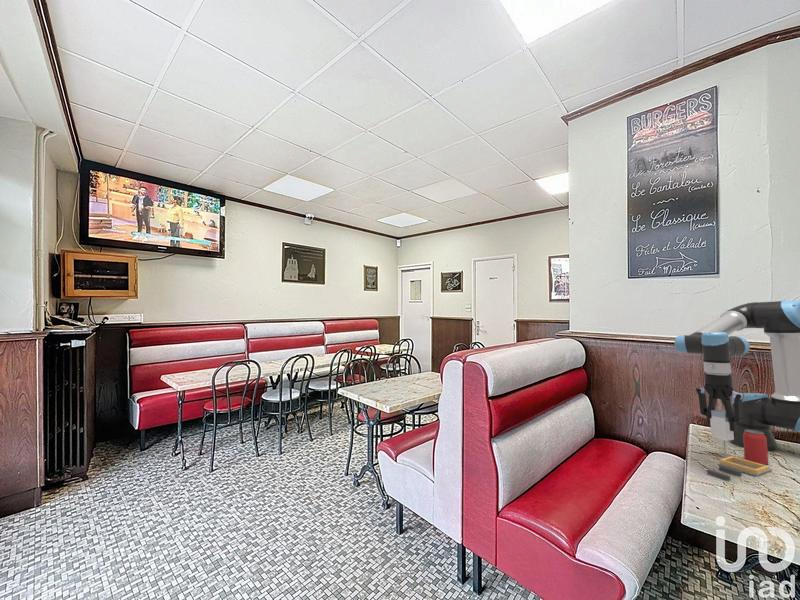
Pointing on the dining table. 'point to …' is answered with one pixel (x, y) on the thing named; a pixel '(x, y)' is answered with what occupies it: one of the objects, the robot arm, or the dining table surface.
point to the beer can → (755, 446)
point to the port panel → (744, 466)
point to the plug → (719, 424)
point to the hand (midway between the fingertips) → (722, 437)
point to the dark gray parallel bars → (724, 476)
